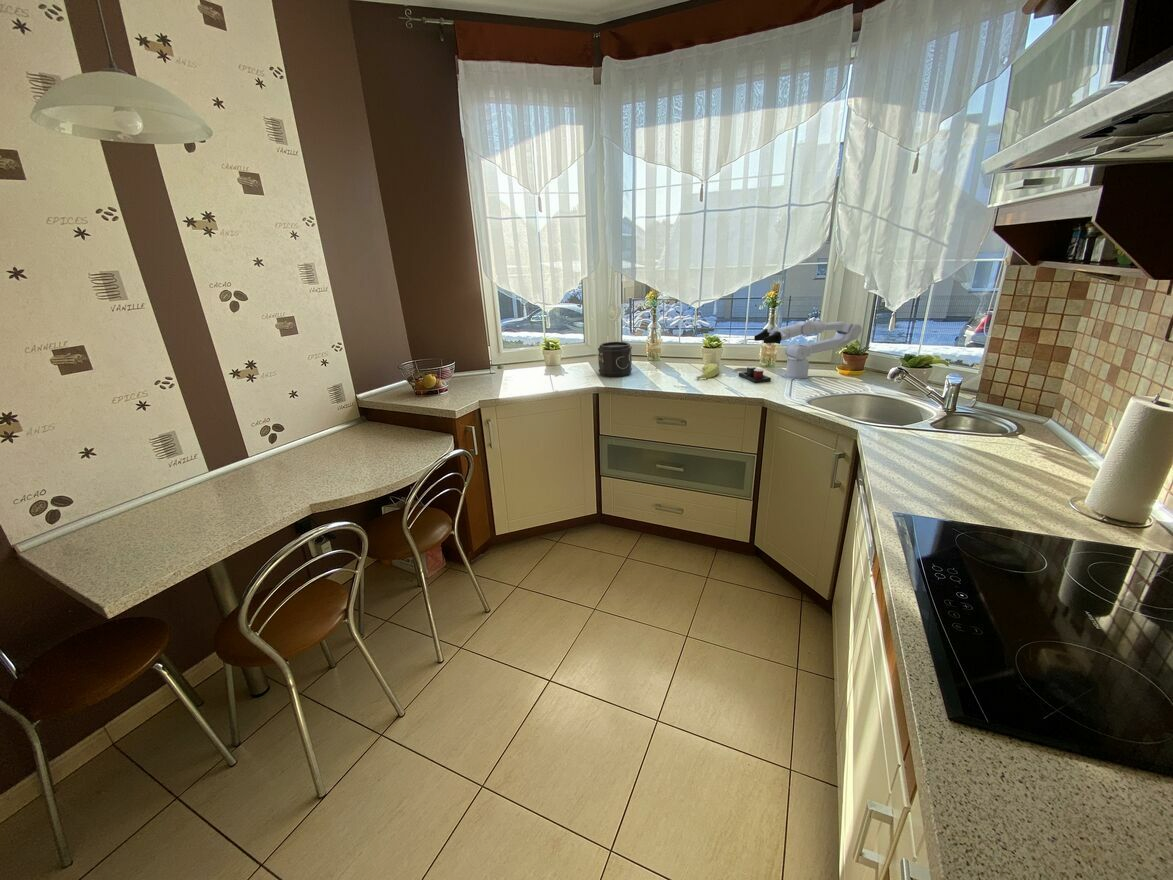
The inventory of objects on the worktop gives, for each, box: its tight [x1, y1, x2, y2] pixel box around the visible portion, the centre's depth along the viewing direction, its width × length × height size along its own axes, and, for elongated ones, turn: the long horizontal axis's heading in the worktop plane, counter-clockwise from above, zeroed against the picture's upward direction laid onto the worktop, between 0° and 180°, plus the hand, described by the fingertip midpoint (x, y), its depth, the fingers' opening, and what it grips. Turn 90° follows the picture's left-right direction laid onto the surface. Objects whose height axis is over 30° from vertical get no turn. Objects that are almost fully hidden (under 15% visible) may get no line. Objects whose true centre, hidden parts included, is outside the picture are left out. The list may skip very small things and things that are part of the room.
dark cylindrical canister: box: [597, 341, 633, 378], centre depth 252 cm, size 18×18×16 cm
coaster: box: [734, 367, 747, 373], centre depth 247 cm, size 8×8×1 cm
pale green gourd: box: [696, 362, 720, 381], centre depth 241 cm, size 14×6×20 cm
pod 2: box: [754, 368, 765, 379], centre depth 225 cm, size 4×4×5 cm
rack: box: [738, 371, 772, 384], centre depth 229 cm, size 15×8×2 cm, turn 12°
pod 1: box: [746, 365, 757, 375], centre depth 231 cm, size 4×4×5 cm
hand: (759, 339), depth 220 cm, fingers open, 7 cm apart
